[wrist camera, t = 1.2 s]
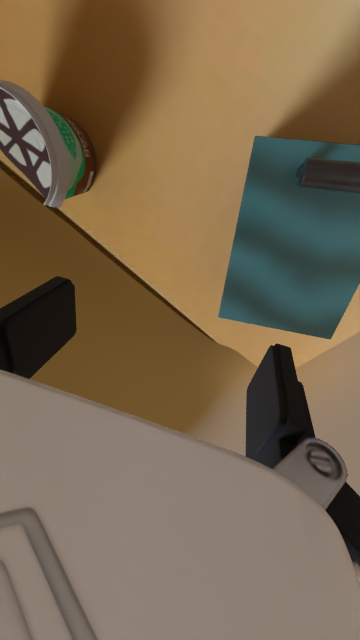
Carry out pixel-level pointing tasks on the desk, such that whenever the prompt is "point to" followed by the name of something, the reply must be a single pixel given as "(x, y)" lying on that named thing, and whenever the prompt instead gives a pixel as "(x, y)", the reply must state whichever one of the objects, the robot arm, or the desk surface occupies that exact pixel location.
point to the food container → (45, 145)
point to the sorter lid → (296, 237)
